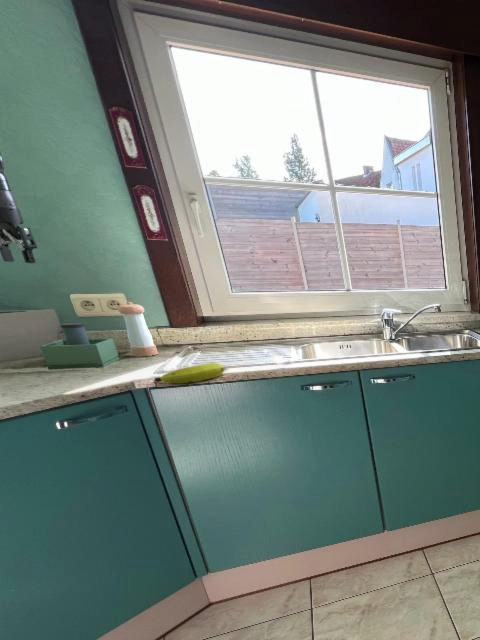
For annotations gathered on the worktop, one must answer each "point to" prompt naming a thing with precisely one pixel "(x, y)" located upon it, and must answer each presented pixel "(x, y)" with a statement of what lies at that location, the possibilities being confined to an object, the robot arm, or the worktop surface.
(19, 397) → the worktop surface
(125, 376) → the worktop surface
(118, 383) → the worktop surface
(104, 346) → the tote
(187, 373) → the banana
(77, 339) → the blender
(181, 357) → the worktop surface
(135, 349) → the salt shaker
